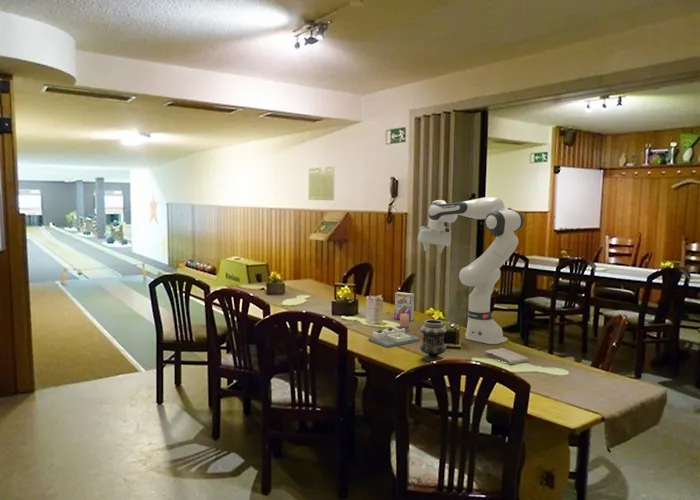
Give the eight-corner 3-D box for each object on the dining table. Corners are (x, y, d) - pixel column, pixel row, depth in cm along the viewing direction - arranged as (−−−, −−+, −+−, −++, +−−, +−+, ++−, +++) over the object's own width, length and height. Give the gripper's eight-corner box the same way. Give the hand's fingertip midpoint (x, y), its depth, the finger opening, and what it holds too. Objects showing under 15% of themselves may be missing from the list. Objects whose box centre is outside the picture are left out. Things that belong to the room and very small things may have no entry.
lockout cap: (410, 330, 283) (410, 314, 282) (403, 331, 280) (404, 315, 279) (404, 328, 287) (405, 313, 286) (398, 329, 284) (398, 314, 283)
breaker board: (420, 340, 262) (420, 329, 261) (387, 347, 250) (387, 336, 249) (400, 333, 275) (400, 323, 275) (368, 340, 263) (368, 329, 262)
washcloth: (501, 352, 244) (501, 345, 244) (529, 362, 228) (529, 356, 228) (482, 355, 239) (482, 349, 238) (509, 366, 223) (510, 360, 222)
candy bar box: (394, 319, 309) (394, 293, 307) (397, 317, 313) (397, 291, 311) (410, 321, 303) (410, 294, 301) (414, 319, 307) (414, 293, 305)
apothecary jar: (451, 361, 229) (452, 322, 227) (429, 365, 224) (430, 325, 222) (436, 354, 240) (436, 317, 238) (414, 357, 235) (415, 319, 233)
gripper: (422, 225, 283) (419, 249, 282) (453, 230, 290) (450, 254, 289) (417, 225, 289) (414, 249, 288) (447, 230, 296) (445, 254, 295)
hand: (432, 251), depth 289 cm, fingers open, 8 cm apart
